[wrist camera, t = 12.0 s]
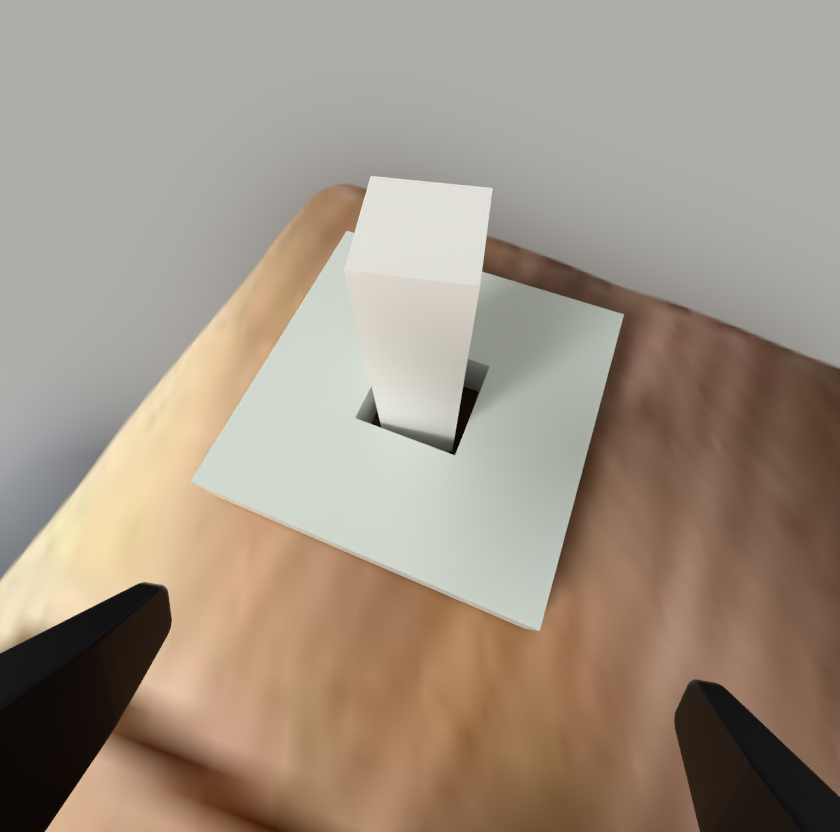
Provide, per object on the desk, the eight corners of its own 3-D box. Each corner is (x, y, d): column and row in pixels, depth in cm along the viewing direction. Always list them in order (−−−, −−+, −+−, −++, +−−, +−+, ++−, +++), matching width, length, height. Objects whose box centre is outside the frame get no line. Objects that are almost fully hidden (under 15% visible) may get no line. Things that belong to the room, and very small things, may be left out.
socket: (524, 628, 20) (539, 631, 17) (219, 497, 22) (190, 481, 20) (602, 345, 26) (624, 314, 23) (354, 267, 28) (346, 230, 26)
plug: (452, 451, 23) (480, 285, 11) (384, 442, 24) (343, 270, 12) (460, 391, 25) (492, 188, 13) (396, 383, 25) (370, 175, 13)
